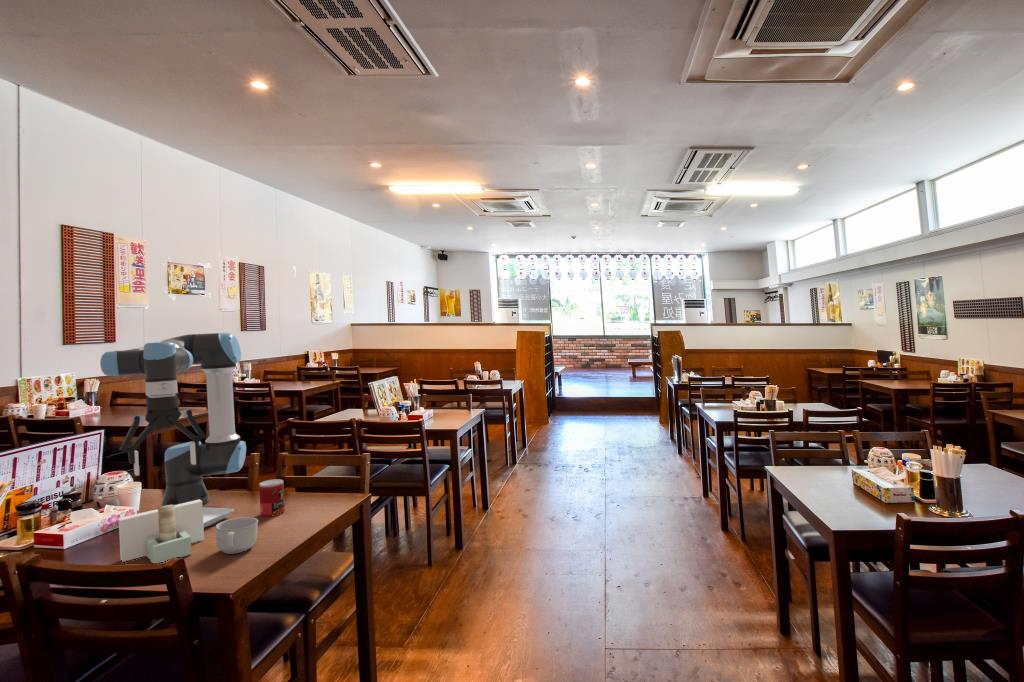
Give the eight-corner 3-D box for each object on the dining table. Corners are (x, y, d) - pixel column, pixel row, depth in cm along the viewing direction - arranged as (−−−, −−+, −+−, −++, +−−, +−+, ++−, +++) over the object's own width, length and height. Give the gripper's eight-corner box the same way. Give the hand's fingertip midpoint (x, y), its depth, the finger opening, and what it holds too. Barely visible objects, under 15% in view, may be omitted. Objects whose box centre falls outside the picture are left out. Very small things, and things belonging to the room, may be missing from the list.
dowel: (158, 556, 142) (156, 507, 142) (175, 551, 145) (172, 503, 145) (162, 560, 139) (159, 510, 139) (178, 555, 142) (176, 506, 142)
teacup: (228, 543, 149) (226, 517, 149) (265, 540, 150) (264, 514, 150) (203, 564, 135) (201, 535, 135) (244, 561, 136) (243, 532, 136)
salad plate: (236, 517, 173) (236, 507, 173) (184, 542, 152) (183, 531, 152) (186, 515, 177) (185, 505, 177) (128, 539, 156) (128, 528, 156)
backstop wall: (120, 560, 140) (118, 518, 140) (201, 537, 154) (199, 499, 154) (122, 563, 138) (120, 520, 138) (204, 539, 152) (202, 501, 152)
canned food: (275, 517, 169) (274, 485, 169) (255, 516, 171) (253, 485, 171) (289, 509, 177) (288, 479, 177) (270, 509, 179) (268, 478, 178)
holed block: (147, 556, 141) (146, 538, 141) (183, 545, 148) (183, 529, 148) (153, 565, 135) (152, 547, 135) (191, 554, 142) (190, 536, 141)
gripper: (108, 402, 131) (112, 482, 131) (214, 391, 148) (218, 461, 149) (104, 400, 136) (108, 477, 136) (207, 390, 154) (211, 458, 154)
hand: (166, 469), depth 142 cm, fingers open, 13 cm apart
